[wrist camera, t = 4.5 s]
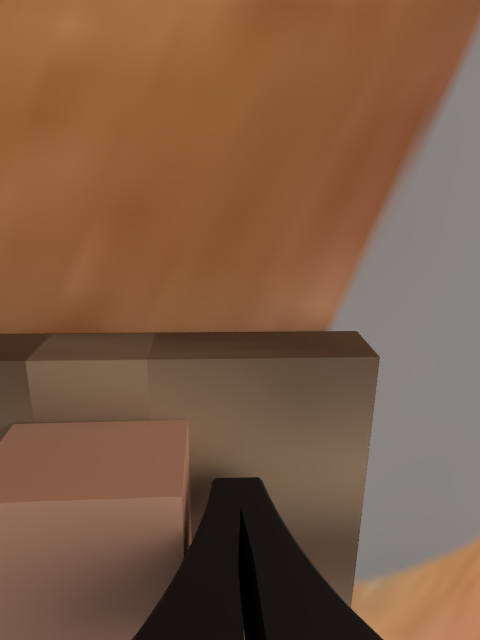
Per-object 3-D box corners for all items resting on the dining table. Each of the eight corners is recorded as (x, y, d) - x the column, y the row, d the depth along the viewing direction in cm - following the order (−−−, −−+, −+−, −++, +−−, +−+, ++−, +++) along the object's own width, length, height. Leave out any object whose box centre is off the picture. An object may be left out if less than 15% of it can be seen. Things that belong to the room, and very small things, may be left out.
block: (191, 553, 14) (187, 655, 11) (35, 560, 13) (-12, 667, 10) (188, 419, 12) (181, 496, 9) (13, 423, 12) (-49, 504, 9)
